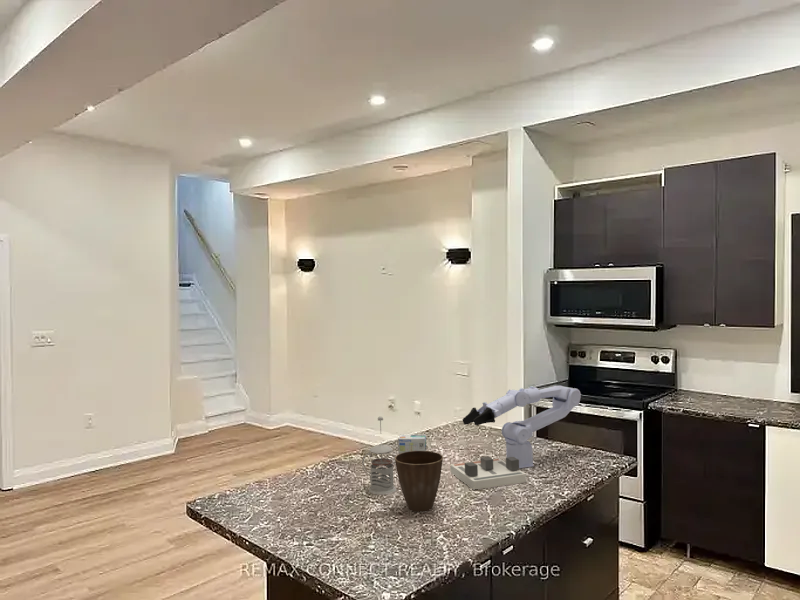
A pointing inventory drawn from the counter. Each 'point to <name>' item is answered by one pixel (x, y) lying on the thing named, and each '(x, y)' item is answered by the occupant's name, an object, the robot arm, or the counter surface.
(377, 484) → the french press
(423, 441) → the light bulb box
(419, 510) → the plant pot
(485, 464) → the block
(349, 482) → the counter surface
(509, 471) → the breaker panel
